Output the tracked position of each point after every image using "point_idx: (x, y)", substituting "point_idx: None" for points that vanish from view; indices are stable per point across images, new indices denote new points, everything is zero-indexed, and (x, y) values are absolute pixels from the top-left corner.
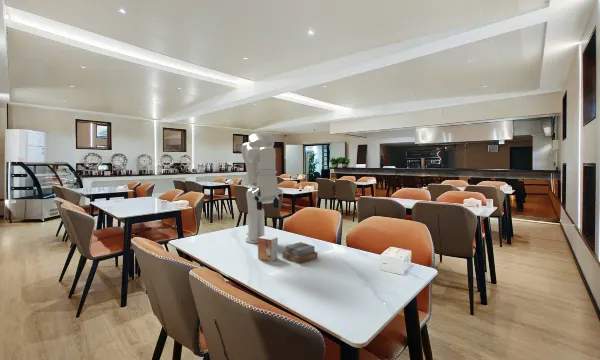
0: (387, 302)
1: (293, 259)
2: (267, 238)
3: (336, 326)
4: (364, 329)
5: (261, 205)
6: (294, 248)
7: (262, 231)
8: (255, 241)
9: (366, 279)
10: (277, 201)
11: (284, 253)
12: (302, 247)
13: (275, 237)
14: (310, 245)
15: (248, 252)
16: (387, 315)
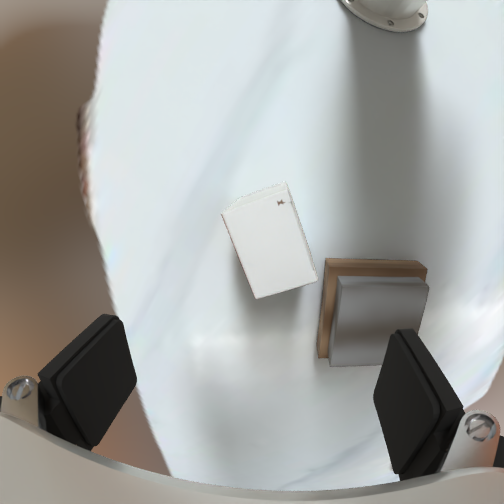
0: None
1: (320, 324)
2: (254, 265)
3: (180, 477)
4: None
5: (108, 416)
6: (338, 339)
7: (412, 2)
8: (359, 13)
9: (337, 462)
10: (395, 463)
11: (328, 277)
12: (370, 348)
13: (305, 277)
14: None
15: (259, 93)
16: None
